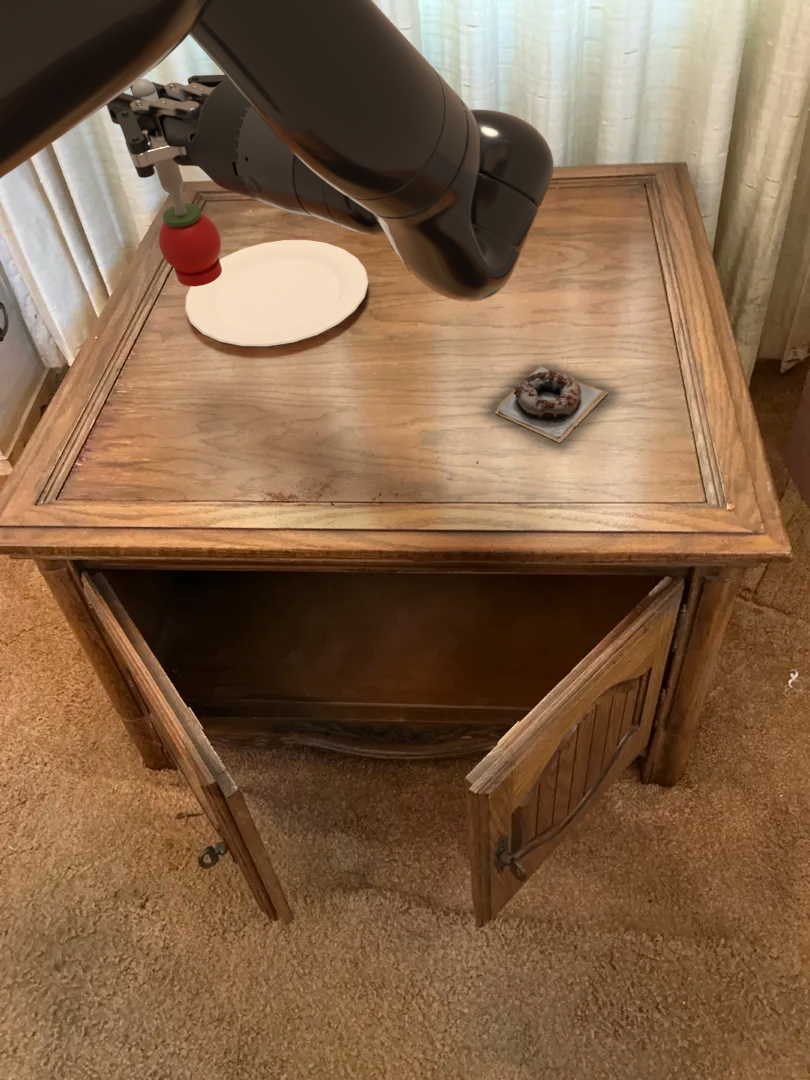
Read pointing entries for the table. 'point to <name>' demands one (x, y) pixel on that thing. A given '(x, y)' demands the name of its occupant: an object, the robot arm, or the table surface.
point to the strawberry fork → (184, 221)
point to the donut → (550, 403)
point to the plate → (278, 294)
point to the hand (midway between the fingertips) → (124, 99)
